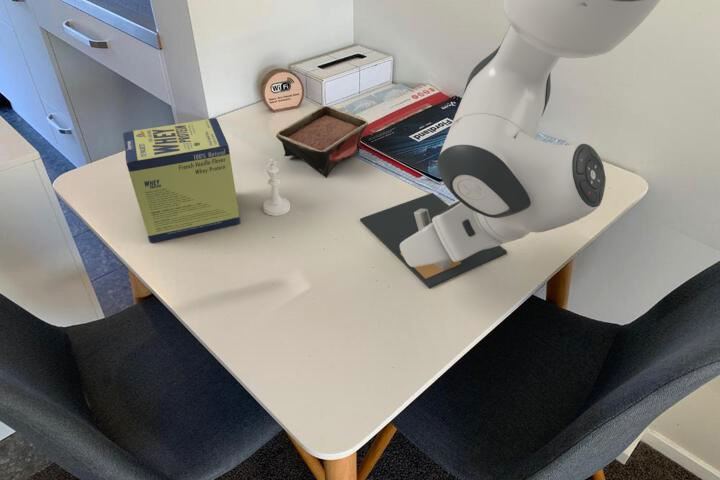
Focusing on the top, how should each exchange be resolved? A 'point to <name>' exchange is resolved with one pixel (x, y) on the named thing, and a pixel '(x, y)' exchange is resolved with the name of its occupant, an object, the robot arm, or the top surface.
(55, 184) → the top surface
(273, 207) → the chess piece
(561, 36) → the robot arm
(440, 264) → the lighter
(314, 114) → the rectangular plant pot
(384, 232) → the mat
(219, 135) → the protein box
